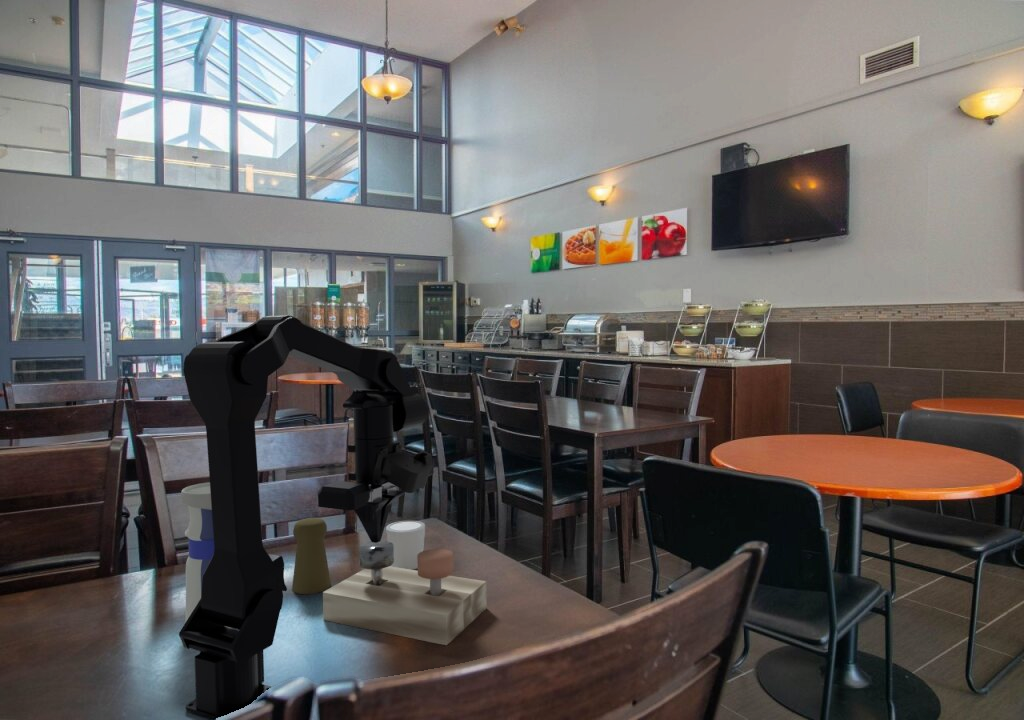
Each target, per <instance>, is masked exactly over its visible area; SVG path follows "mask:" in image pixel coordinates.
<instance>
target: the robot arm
mask: <svg viewBox="0 0 1024 720" xmlns="http://www.w3.org/2000/svg"><path fill="white" fill-rule="evenodd" d="M288 356H289V357H292V358H295V359H297V360H300V361H303V362H306V363H307V364H311V365H313V366H317V367H319V368H321V369H325V370H326V371H329V372H332V373H333V374H335V375H336V378H337V379H338V381H339V382H340V383H342V384H344V386H347V387H348V388H350V389H351V390H353V391H352V392H351V395H350V396H349V397H348V398H346V399H345V401H344V402H343V403H342V407H343V408H344V409H352V410H353V411H352V413H353V415H352V418H353V443H351V444H347V452H348V453H353V459H354V460H353V463H354V465H353V468H354V469H353V470H354V471H351V472H348V474H347V475H348V477H347V478H348V481H345V480H337V481H334V482H331V483H329V484H325V485H322V486H321V487H320V489H319V490H317V507H318V508H322V509H323V508H324V509H333V510H341V511H353V512H355V514H356V516H357V517H358V519H359V521H360V523H361V525H362V527H363V528H364V531H365V533H366V534H367V536H368V538H369V540H370V542H374V543H378V542H380V541H382V537H383V534H384V530H385V527H386V524H387V520H388V516H389V514H390V511H391V507H392V505H393V504H394V503H395V502H396V501H397V500H398V499H399V498H400V497H401V496H403V495H404V493H408V494H413V493H415V492H416V491H417V490H421V489H424V488H426V485H427V482H428V481H427V480H428V477H430V476H432V475H434V469H433V467H434V465H433V456H432V454H431V453H429V452H427V451H425V450H424V451H419V452H417V453H416V455H414V456H413V455H412V454H408V455H406V454H405V453H403V452H402V445H401V444H400V442H401V441H394V440H395V439H394V438H395V437H394V433H395V432H400V431H404V430H410V429H414V428H418V427H420V426H422V425H423V424H424V423H425V422H426V420H427V419H428V418H427V417H428V415H429V407H428V405H427V403H426V401H425V398H423V397H422V395H421V394H419V393H418V392H417V391H418V388H417V385H410V383H409V381H408V378H407V377H406V375H405V373H404V371H403V369H402V366H401V365H400V362H399V361H398V357H397V355H396V354H394V353H393V352H392V351H388V350H383V349H378V348H368V347H359V346H355V345H352V344H351V343H348V342H346V341H344V340H341V339H339V338H337V337H335V336H333V335H331V334H328V333H326V332H324V331H321V330H319V329H317V328H315V327H313V326H311V325H308V324H307V323H303V322H302V321H301V320H300V319H298V318H297V317H295V316H293V315H288V314H287V315H267V316H263V317H261V318H259V319H257V320H256V321H254V322H253V323H250V324H249V325H248V326H246V327H245V326H244V327H242V328H241V329H239V330H235V331H233V332H231V333H229V334H226V335H224V336H221V337H219V338H217V339H216V340H214V341H212V342H211V341H207V342H202V343H199V344H197V345H196V346H194V347H193V348H192V349H191V351H190V352H189V353H188V354H186V356H185V357H184V360H183V369H182V371H183V377H184V380H185V384H186V389H187V393H188V397H189V400H190V402H191V403H192V405H193V407H194V408H195V410H196V412H197V413H198V415H199V416H200V418H201V420H202V421H203V423H204V426H205V430H206V431H205V433H206V446H207V447H206V448H207V459H208V474H209V482H210V491H211V505H212V519H213V534H214V555H213V556H212V558H211V560H210V562H209V564H208V566H207V568H206V570H205V572H204V575H203V580H202V592H201V599H200V601H199V602H198V604H197V605H196V607H195V609H194V610H193V612H192V613H191V615H190V616H189V618H188V620H187V621H186V623H185V622H184V624H183V626H182V628H180V631H179V633H178V636H179V638H180V640H181V643H182V645H183V648H184V649H188V650H190V649H191V650H194V651H198V652H199V653H198V654H197V655H195V656H194V679H195V680H194V681H195V686H194V687H195V699H192V701H190V702H188V703H186V705H185V711H186V712H188V713H191V714H195V715H198V716H202V717H205V718H208V719H211V720H215V719H216V718H218V717H221V716H224V715H227V714H229V713H231V712H234V711H236V710H239V709H241V708H244V707H245V706H247V705H249V704H251V703H252V702H253V701H254V700H256V699H257V697H258V696H260V695H261V694H262V693H264V692H265V691H266V690H268V689H269V688H271V687H272V686H271V685H270V686H269V685H268V684H267V685H266V684H263V683H264V682H265V667H264V666H265V665H264V663H265V662H264V650H267V649H268V648H269V647H271V646H273V644H274V640H275V636H276V635H275V634H276V630H277V626H278V622H279V617H280V612H281V610H282V608H283V602H284V600H283V599H284V593H283V592H287V591H288V587H287V586H286V583H285V575H284V574H285V562H284V558H283V556H281V555H276V554H271V553H268V551H267V550H266V548H265V546H264V543H263V542H264V541H263V532H262V531H263V529H262V528H263V527H262V516H261V513H262V512H261V501H260V500H261V498H260V486H259V485H260V483H259V482H260V481H259V471H258V456H257V455H258V453H257V452H258V450H257V438H256V437H257V436H256V419H257V417H258V414H259V412H260V410H261V409H262V407H263V405H264V402H265V401H266V398H267V394H268V386H269V385H268V383H269V382H268V381H269V376H271V375H273V373H275V372H277V370H278V369H280V368H282V367H283V365H284V364H285V363H286V361H287V359H288ZM353 481H354V482H353ZM397 488H400V490H397ZM224 626H227V627H224ZM228 627H231V628H233V629H231V628H228Z"/></svg>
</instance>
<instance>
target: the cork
mask: <svg viewBox="0 0 1024 720" xmlns="http://www.w3.org/2000/svg"><path fill="white" fill-rule="evenodd" d="M327 526H328V525H327V522H326V521H325V519H323V518H320V517H307V518H303V519H302V518H301V519H300V520H298V521H297V522H295V524H294V525H293V529H292V533H293V534H292V535H293V538H294V539H295V541H296V548H295V550H296V551H295V560H294V567H293V576H292V577H293V579H292V586H291V590H292V592H293V593H295V594H300V595H311V594H312V595H313V594H316V593H320V592H321V593H322V592H324V591H326V590H328V589H330V588H331V585H332V583H331V577H330V570H329V563H328V557H327V551H326V547H325V546H326V545H325V537H326V536H327V532H328V531H327V530H328V527H327Z"/></svg>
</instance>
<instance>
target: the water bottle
mask: <svg viewBox="0 0 1024 720" xmlns="http://www.w3.org/2000/svg"><path fill="white" fill-rule="evenodd" d="M179 504H180V505H182V506H186V507H187V510H188V514H189V515H188V516H189V523H188V526H187V528H186V530H185V531H184V535H185V537H187V538H188V541H187V542H188V557H187V559H186V563H185V616H184V618H185V621H184V624H185V623H186V621H187V620H188V618H189V616H190V615H191V613H192V612H193V610H194V609H195V607H196V605H197V604H198V602H199V601H200V599H201V592H202V580H203V575H204V572H205V570H206V568H207V566H208V564H209V562H210V560H211V558H212V556H213V555H214V534H213V519H212V505H211V491H210V481H209V482H202V483H197V484H192V485H188V486H186V487H184V488H182V490H181V493H180V496H179ZM224 627H227V626H224ZM228 628H231V627H228ZM231 629H234V628H231Z"/></svg>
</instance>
